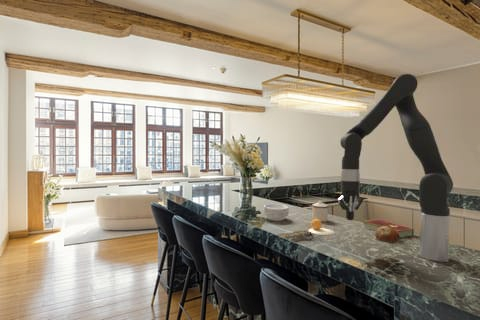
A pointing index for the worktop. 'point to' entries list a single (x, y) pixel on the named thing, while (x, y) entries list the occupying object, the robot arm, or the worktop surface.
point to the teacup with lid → (320, 211)
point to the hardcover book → (379, 223)
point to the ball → (316, 224)
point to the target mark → (322, 231)
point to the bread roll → (387, 234)
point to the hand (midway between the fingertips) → (350, 219)
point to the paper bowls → (276, 211)
